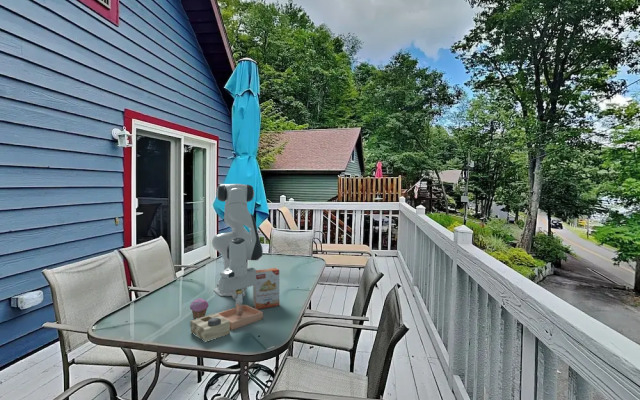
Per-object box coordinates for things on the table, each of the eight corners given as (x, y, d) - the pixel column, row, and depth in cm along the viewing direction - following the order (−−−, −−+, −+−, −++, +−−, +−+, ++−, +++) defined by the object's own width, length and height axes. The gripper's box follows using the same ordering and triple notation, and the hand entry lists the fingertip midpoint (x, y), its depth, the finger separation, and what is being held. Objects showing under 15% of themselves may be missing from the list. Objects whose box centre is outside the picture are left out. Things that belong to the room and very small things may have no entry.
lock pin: (234, 315, 170) (233, 289, 169) (240, 313, 172) (239, 288, 172) (238, 316, 168) (237, 291, 167) (244, 314, 170) (243, 289, 169)
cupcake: (200, 313, 179) (200, 295, 178) (212, 316, 174) (211, 297, 174) (186, 319, 171) (186, 300, 170) (198, 322, 167) (197, 303, 166)
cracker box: (256, 310, 183) (255, 272, 182) (253, 306, 188) (252, 270, 187) (280, 305, 189) (279, 269, 188) (276, 302, 195) (275, 267, 194)
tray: (215, 320, 169) (215, 313, 169) (245, 310, 182) (245, 304, 182) (232, 329, 158) (232, 322, 158) (263, 318, 171) (262, 312, 171)
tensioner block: (191, 333, 155) (190, 317, 155) (214, 325, 164) (214, 310, 163) (205, 343, 145) (205, 326, 145) (229, 334, 154) (229, 318, 153)
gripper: (252, 265, 179) (252, 291, 179) (217, 273, 164) (217, 301, 165) (258, 267, 174) (259, 293, 175) (223, 275, 159) (224, 304, 160)
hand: (238, 297), depth 170 cm, fingers closed on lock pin, 3 cm apart
